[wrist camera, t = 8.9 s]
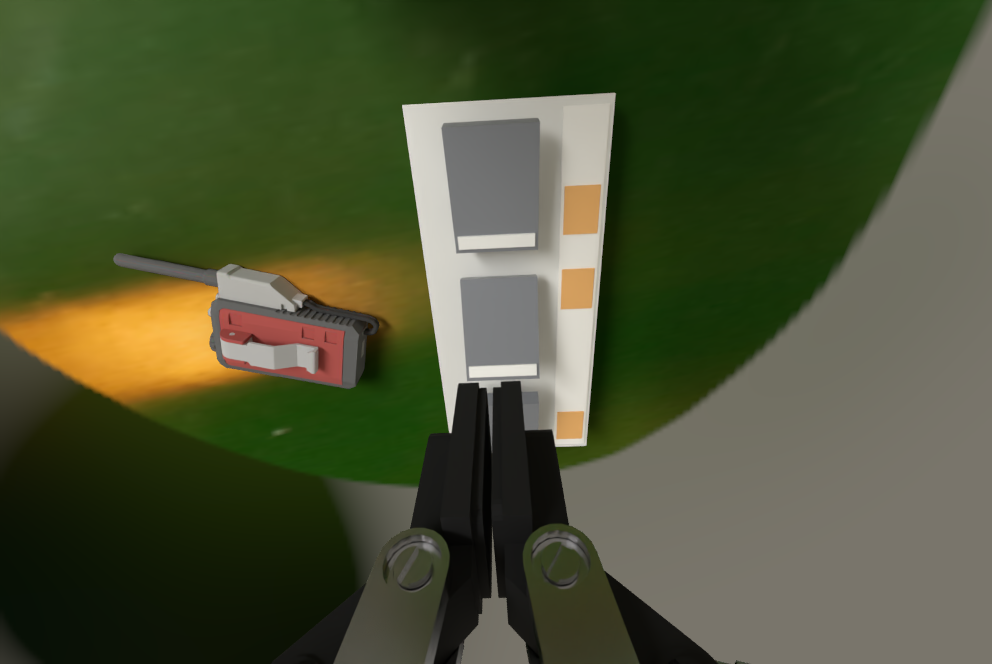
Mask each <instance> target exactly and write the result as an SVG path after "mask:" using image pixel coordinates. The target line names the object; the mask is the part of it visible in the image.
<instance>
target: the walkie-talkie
mask: <svg viewBox="0 0 992 664" xmlns="http://www.w3.org/2000/svg"><path fill="white" fill-rule="evenodd" d="M114 262H115V263H116V264H117V265H118V266H122V267H127V268H132V269H137V270H142V271H147V272H152V273H157V274H162V275H167V276H172V277H177V278H182V279H187V280H192V281H197V282H202V283H205V284H206V285H210V286H215V287H218V290H219V293H217V295H216V300H214V301H213V302H212V304H211V307H210V308H209V310H208V315H209V316H210V317H211V319H212V326H213V333H212V334H211V337H210V342H209V343H210V347H211V349H212V350H213V351H216V354H217V360H218V361H219V362H220V364H222V365H223V366H225V367H226V368H232V369H238V370H243V371H249V372H255V373H260V374H266V375H272V376H277V377H279V376H281V377H283V378H290V379H296V380H302V381H309V382H315V383H317V384H318V383H320V384H323V385H324V384H326V385H329V386H331V385H332V386H335V387H341V388H347V389H350V388H352V387H355V386H356V385H357V383H358V381H359V379H360V377H361V375H362V373H363V371H364V367H365V354H366V341H367V335H373V334H375V333H376V332H377V330H378V328H379V322H378V320H377V319H376V318H374V317H372V316H370V315H366V314H362V313H356V312H355V311H353V312H351V311H349V310H342V309H336V308H335V307H333V308H330V307H329V306H327V307H325V306H323V305H318V304H316V303H315V302H313V301H312V300H309V299H308V295H304V294H303V293H301V292H300V291H299V290H298V289H297V288H296V287H294V286H293V285H292V284H291V283H290V282H288V281H287V280H286V279H285V278H284V277H282V276H279V275H274V274H269V273H265V272H260V271H255V270H250V269H245V268H242V267H241V266H239V265H234V264H229V265H227V266H225V267H224V268H222V269H220V270H214V269H207V270H205V269H200V268H195V267H190V266H185V265H180V264H175V263H170V262H165V261H160V260H152V259H147V258H142V257H137V256H131V255H126V254H121V253H118V254H116V255H115V256H114ZM368 323H371V324H372V325H373V327H374V328H371V329H369V328H368Z"/></svg>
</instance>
